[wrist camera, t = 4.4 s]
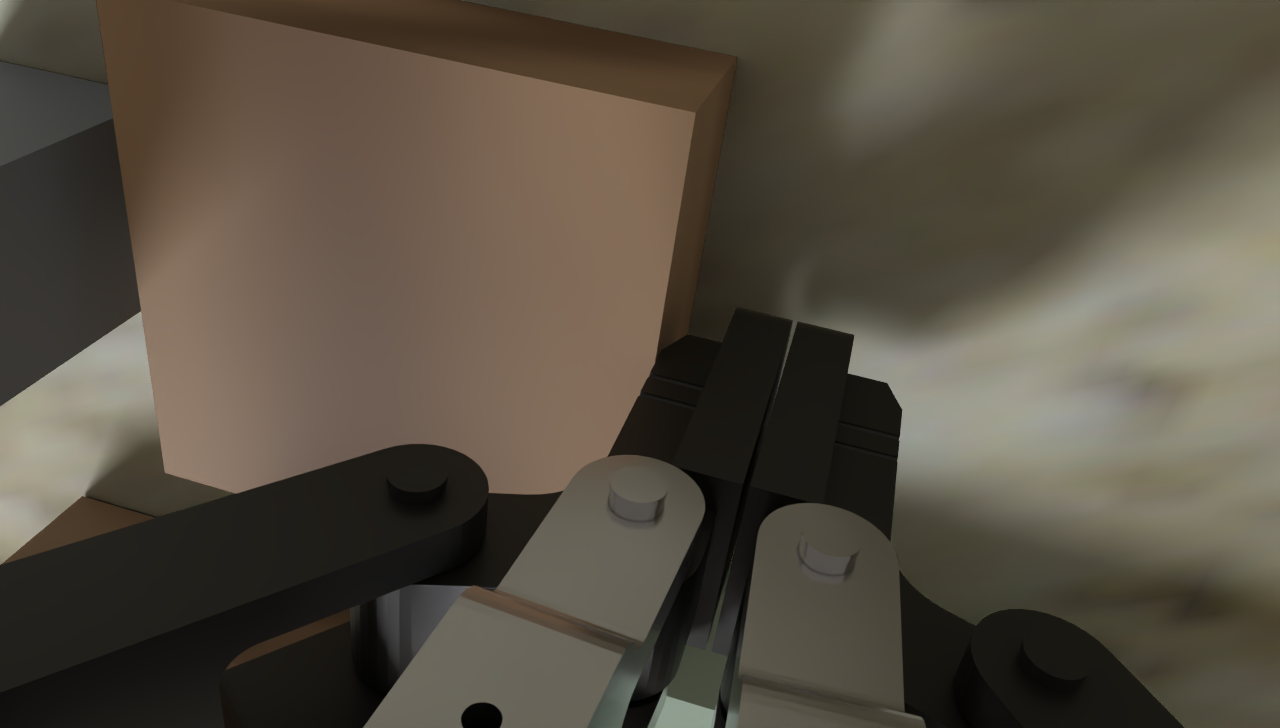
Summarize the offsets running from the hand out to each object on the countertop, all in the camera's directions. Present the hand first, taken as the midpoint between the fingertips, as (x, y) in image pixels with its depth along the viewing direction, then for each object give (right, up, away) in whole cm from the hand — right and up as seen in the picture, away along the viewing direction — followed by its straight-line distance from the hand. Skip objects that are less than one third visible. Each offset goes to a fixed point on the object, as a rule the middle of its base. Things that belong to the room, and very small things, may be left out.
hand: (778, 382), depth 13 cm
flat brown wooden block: (-4, +2, +2) cm, 5 cm away
